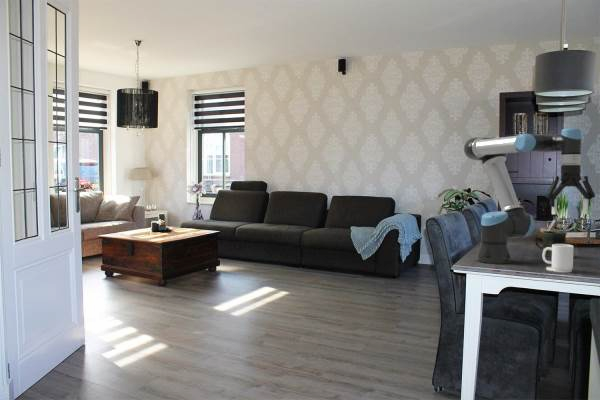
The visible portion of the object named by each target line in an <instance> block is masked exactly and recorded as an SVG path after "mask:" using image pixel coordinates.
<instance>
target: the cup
mask: <svg viewBox="0 0 600 400" xmlns="http://www.w3.org/2000/svg"><path fill="white" fill-rule="evenodd" d="M546 250H551V251H552V257H551V260H547V259H546V256H545V252H546ZM541 257H542V261H543V262H544V263H546V264H548V265H551V266H552V268H553V269H557V270H572V271H573V269H574V245H572V244H567V243H566V244H552V248H551V247H546V248H545V249H544V250H543V253H542V254H541Z"/></svg>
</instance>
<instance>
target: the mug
mask: <svg viewBox="0 0 600 400" xmlns="http://www.w3.org/2000/svg"><path fill="white" fill-rule="evenodd" d="M567 234H568V233H567V232H565V231H559V230H558V231H556V230H555V231H554V230H543V231H541V235H536V236H535V238H534V243H535V246H536V248H538V249H540V250H542V253H543V250H544V249H545V248H546V247H551V248H552V244H567V243H566V242H567V241H566V239H567ZM538 238H542V246H540V245H539V243H538ZM545 257H548V258H549V257H550V258H552V251H551V250H546V252H545Z"/></svg>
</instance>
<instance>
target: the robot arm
mask: <svg viewBox="0 0 600 400" xmlns="http://www.w3.org/2000/svg"><path fill="white" fill-rule="evenodd" d="M582 138H583V137H582V129H580V128H579V127H578V128H577V127H569V128H562V129H561V133H560V134H559V133H558V134H535V133H534V134H531V133H521V134H518V135H510V136H505V137H504V136H501V137H496V136H494V137H493V136H492V137H479V136H478V137H471V138H470V139H468V140H466V142H465V143H464V145H463V151H464V154H465V156H466V157H467V158H468V159H470V160H472V161H481V164H482V166H483V167H484V168H486V169H487V172H488V174H489V177H490V180H491V183H492V186H493V188H494V192H495V194H496V198H497V201H498V204H499V207H500V211H498V210H497V211H490V212H485V213H484V214H482V215H481V220H480V221H481V222H480V245H479V246H480V247H479V249H478V252H477V253H476V261H477V260H478V261H477V262H480V261H481V262H480V263H484V262H487V263H486V264H499V265H500V264H509V263H511V260H512V259H511V255H510V251H509V248H508V239H516V238H517V239H522V238H527V237H528V236H530V235H532V233H533V232H534V229H535V223H536V222H535V218H534V217H533V215H532V214H529V213H528V212H526V210H525V207H524V206H522V205H520V203H519V200H518V197H517V194H516V192H515V189H514V186H513V183H512V179H511V177H510V175H509V171H508V168H507V166H506V163H505V162H506V161H507V156H508V154H513V153H514V154H515V153H527V152H528V153H530V152H531V153H533V152H538V153H539V152H542V153H553V152H560V153H561V154H560V164H561V165H560V176H559V175H555V176H553V179H552V182H551V184H550V187H549V188H548V190H547V192H546V193H545V198H547V199H549V206H550V207H551V215H555V216H557V213H558V212H557V211H558V209H557V208H558V206H557V205H558V199H556V198H557V197H558V196H559V195H560V193H562V191H563V189H565V188H567V187H575V188H576V189H577V190H578V191H579V192H580V194H581V195H582V196H583V198H582V214H583V215H589V207H590V206H591V199H592V198H595V197H596V194H595V192H594V190H593V188H592V185H591V184H590V182H589V176H588V175H582V176H581V174H582V173H581V172H582V171H581V170H582V168H581V162H582V161H581V160H582ZM560 181H561V182H560ZM581 181H582V183H581ZM559 182H560V183H559ZM558 184H559V185H558ZM582 184H583V185H582ZM557 185H558V187H557ZM583 186H584V187H583ZM592 200H593V199H592Z"/></svg>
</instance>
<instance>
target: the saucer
mask: <svg viewBox="0 0 600 400" xmlns="http://www.w3.org/2000/svg"><path fill="white" fill-rule="evenodd" d="M545 270H546V271H548V272H552V271H553V273H568V274H569V273H572V272H573V269H572V270H557V269H553V268H552V265H549V266H546V267H545Z"/></svg>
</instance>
